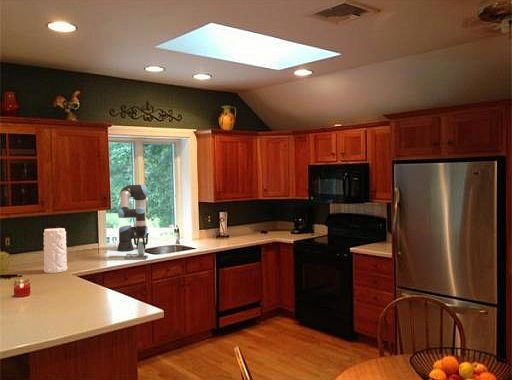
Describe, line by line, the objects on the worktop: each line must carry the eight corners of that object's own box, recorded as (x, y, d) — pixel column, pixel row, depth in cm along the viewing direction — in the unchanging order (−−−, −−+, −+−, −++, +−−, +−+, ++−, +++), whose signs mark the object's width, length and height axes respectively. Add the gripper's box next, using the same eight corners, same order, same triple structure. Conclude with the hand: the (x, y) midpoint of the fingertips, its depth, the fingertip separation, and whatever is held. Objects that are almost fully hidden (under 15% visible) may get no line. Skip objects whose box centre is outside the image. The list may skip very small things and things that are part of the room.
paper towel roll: (43, 274, 330) (42, 231, 328) (43, 270, 344) (42, 228, 343) (68, 272, 337) (67, 229, 336) (67, 267, 352) (66, 227, 350)
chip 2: (133, 258, 383) (133, 253, 383) (137, 258, 383) (137, 253, 383) (132, 259, 379) (131, 254, 379) (136, 259, 379) (136, 254, 379)
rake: (139, 257, 384) (139, 241, 383) (144, 257, 384) (143, 241, 383) (138, 258, 379) (137, 242, 379) (142, 258, 379) (142, 242, 379)
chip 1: (127, 258, 383) (127, 253, 383) (132, 258, 383) (132, 253, 383) (126, 259, 379) (126, 254, 379) (130, 259, 379) (130, 254, 379)
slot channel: (127, 259, 386) (126, 255, 386) (147, 259, 386) (147, 255, 386) (124, 261, 377) (124, 257, 377) (145, 261, 377) (145, 257, 377)
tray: (109, 259, 387) (109, 255, 386) (127, 259, 387) (127, 255, 387) (105, 261, 376) (105, 258, 375) (123, 261, 376) (123, 258, 376)
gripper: (129, 226, 377) (130, 253, 378) (149, 226, 377) (149, 253, 378) (132, 225, 384) (132, 252, 385) (151, 224, 384) (151, 252, 385)
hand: (141, 252), depth 381 cm, fingers closed on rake, 3 cm apart
